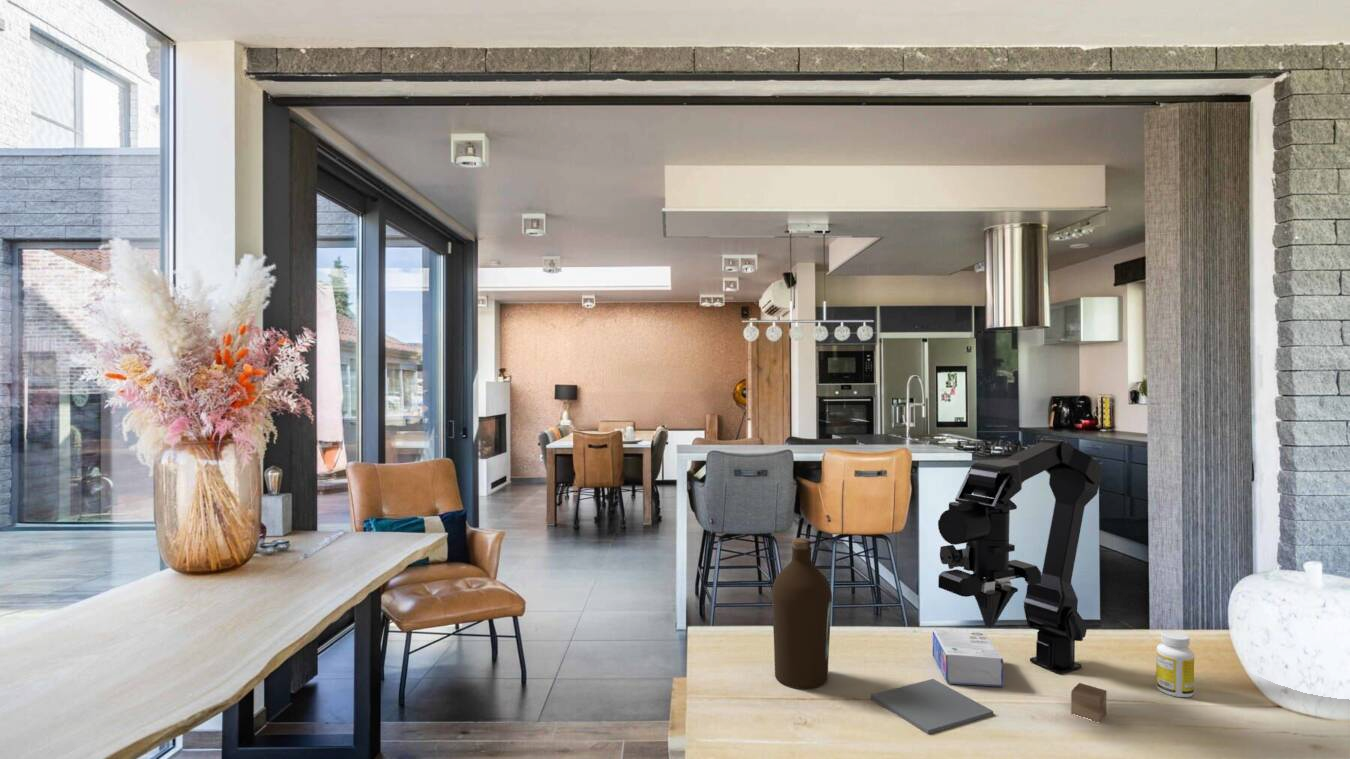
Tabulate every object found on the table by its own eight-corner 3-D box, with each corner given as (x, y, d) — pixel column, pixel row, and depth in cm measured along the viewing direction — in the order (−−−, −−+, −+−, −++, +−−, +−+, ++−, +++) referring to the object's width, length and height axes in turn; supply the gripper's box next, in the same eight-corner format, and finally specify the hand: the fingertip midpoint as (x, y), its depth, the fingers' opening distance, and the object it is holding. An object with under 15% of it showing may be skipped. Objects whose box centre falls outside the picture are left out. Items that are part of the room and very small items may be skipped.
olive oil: (776, 691, 126) (777, 548, 125) (767, 665, 136) (767, 532, 136) (838, 690, 126) (839, 547, 125) (823, 664, 137) (824, 532, 136)
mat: (933, 682, 129) (933, 678, 129) (993, 714, 118) (993, 711, 118) (870, 698, 123) (870, 694, 123) (927, 734, 112) (927, 730, 112)
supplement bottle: (1189, 687, 127) (1191, 632, 127) (1197, 701, 122) (1198, 643, 122) (1153, 681, 129) (1154, 627, 129) (1158, 694, 125) (1159, 638, 124)
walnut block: (1078, 706, 121) (1079, 682, 120) (1106, 714, 118) (1106, 690, 118) (1071, 715, 118) (1071, 690, 118) (1098, 723, 115) (1099, 698, 115)
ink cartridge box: (1004, 689, 127) (982, 653, 141) (1005, 658, 127) (983, 626, 141) (944, 685, 128) (928, 650, 143) (945, 654, 128) (929, 622, 142)
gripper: (991, 522, 137) (989, 604, 137) (915, 532, 129) (914, 619, 129) (1044, 535, 127) (1042, 624, 127) (965, 547, 119) (963, 641, 119)
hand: (989, 626), depth 126 cm, fingers closed
